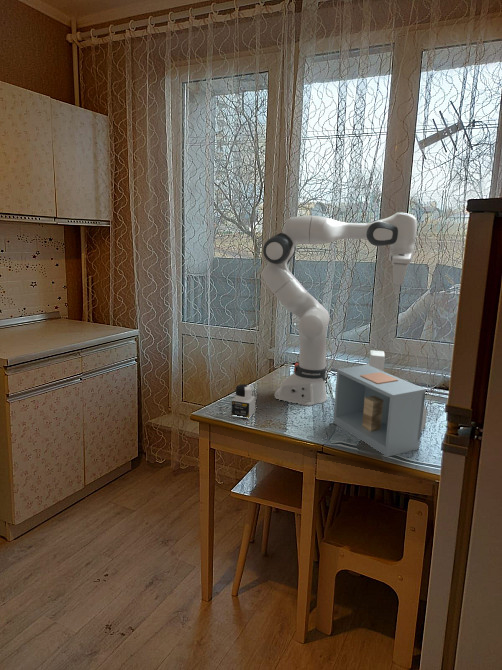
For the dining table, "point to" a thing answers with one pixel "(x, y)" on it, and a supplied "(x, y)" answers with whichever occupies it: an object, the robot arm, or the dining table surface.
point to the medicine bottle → (243, 401)
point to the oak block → (372, 413)
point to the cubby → (397, 414)
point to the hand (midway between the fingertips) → (396, 292)
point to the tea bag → (424, 418)
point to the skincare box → (377, 359)
